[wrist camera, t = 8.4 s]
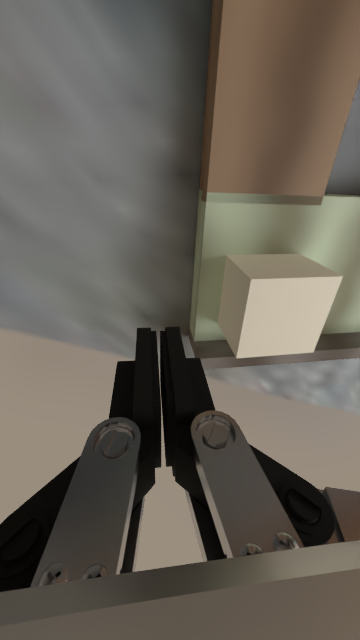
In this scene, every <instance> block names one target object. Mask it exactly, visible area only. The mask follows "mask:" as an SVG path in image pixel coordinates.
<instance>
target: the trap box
mask: <svg viewBox="0 0 360 640" xmlns="http://www.w3.org/2000/svg"><path fill="white" fill-rule="evenodd" d="M359 78H360V0H213V1H212V15H211V29H210V43H209V57H208V72H207V86H206V100H205V114H204V128H203V143H202V157H201V171H200V185H199V200H198V214H197V228H196V242H195V256H194V271H193V285H192V299H191V313H190V328H189V339H190V343H191V346H192V349H193V352H194V355H195V358H200V360H201V363H202V367H203V369H216V368H230V367H243V366H257V365H270V364H283V363H297V362H310V361H324V360H337V359H350V358H360V195H346V194H324V193H325V190H326V187H327V183H328V180H329V177H330V174H331V170H332V167H333V164H334V160H335V157H336V154H337V150H338V147H339V144H340V141H341V137H342V134H343V131H344V127H345V124H346V121H347V118H348V114H349V111H350V108H351V104H352V101H353V98H354V95H355V91H356V88H357V85H358V81H359ZM249 254H302V255H304V256H305V257H307V258H309V259H311V260H313V261H315V262H317V263H319V264H321V265H322V266H324V267H326V268H328V269H330V270H332V271H334V272H336V273H338V274H339V275H341V276H343V278H342V280H341V283H340V286H339V288H338V291H337V293H336V296H335V298H334V301H333V303H332V306H331V309H330V311H329V314H328V316H327V319H326V321H325V324H324V327H323V329H322V332H321V334H320V337H319V339H318V342H317V344H316V347H315V350H314V352H313V353H301V354H288V355H275V356H262V357H249V358H236V357H235V355H234V353H233V351H232V349H231V347H230V345H229V344H228V342H227V340H226V338H225V336H224V334H223V332H222V330H221V328H220V326H219V324H218V317H219V309H220V301H221V293H222V285H223V277H224V269H225V261H226V255H249Z"/></svg>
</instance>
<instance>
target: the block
mask: <svg viewBox="0 0 360 640" xmlns="http://www.w3.org/2000/svg"><path fill="white" fill-rule="evenodd" d="M342 278H343V276H341V275H339V274H338V273H336V272H334V271H332V270H330V269H328V268H326V267H324V266H322V265H321V264H319V263H317V262H315V261H313V260H311V259H309V258H307V257H305V256H304V255H302V254H249V255H226V261H225V269H224V277H223V285H222V293H221V301H220V309H219V317H218V324H219V326H220V328H221V330H222V332H223V334H224V336H225V338H226V340H227V342H228V344H229V345H230V347H231V349H232V351H233V353H234V355H235V357H236V358H249V357H262V356H275V355H288V354H301V353H313V352H314V350H315V347H316V344H317V342H318V339H319V337H320V334H321V332H322V329H323V327H324V324H325V321H326V319H327V316H328V314H329V311H330V309H331V306H332V303H333V301H334V298H335V296H336V293H337V291H338V288H339V286H340V283H341V280H342Z"/></svg>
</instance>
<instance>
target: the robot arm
mask: <svg viewBox="0 0 360 640" xmlns="http://www.w3.org/2000/svg"><path fill="white" fill-rule="evenodd" d="M160 369H161V370H160V371H161V372H160V375H161V377H160V380H161V381H160V382H161V399H162V413H163V428H164V443H165V457H166V466H167V467H168V466H172V471H173V476H175V481H176V482H177V483H178V484H179V485H180V486H182V487H183V488H184V489H185V490H186V497H187V501H188V505H189V509H190V512H191V516H192V520H193V524H194V528H195V531H196V535H197V539H198V543H199V547H200V550H201V554H202V558H203V562H200V563H193V564H186V565H179V566H172V567H165V568H159V569H152V570H145V571H138V572H135V566H136V558H137V551H138V544H139V537H140V530H141V523H142V515H143V508H144V500H145V499H144V497H145V495H146V494H147V492H148V491H149V490H150V489H151V488H152V486H153V485H154V484H155V468H158V467H161V399H160V384H159V367H158V352H157V336H156V331H151V328H137V340H136V358H135V361H119V362H118V363H117V368H116V374H115V382H114V388H113V394H112V401H111V407H110V414H109V419H107V420H105V421H103V422H101V423H100V424H98V425H97V426H96V427H95V428H94V429H93V430H92V431H91V433H90V435H89V437H88V439H87V441H86V444H85V446H84V449H83V452H82V454H81V456H80V457H79V458H78V459H76V460H75V461H74V462H73V463H72V464H70V465H69V466H68V467H67V468H66V469H65V470H63V471H62V472H61V473H60V474H59V475H57V476H56V477H55V478H54V479H53V480H51V481H50V482H49V483H48V484H47V485H45V486H44V487H43V488H42V489H41V490H40V491H38V492H37V493H36V494H35V495H33V496H32V497H31V498H30V499H29V500H27V501H26V502H25V503H24V504H23V505H22V506H20V507H19V508H18V509H17V510H16V511H14V512H13V513H12V514H11V515H10V516H8V517H7V518H6V519H5V520H4V521H3V522H2V523H1V524H0V640H360V492H357V491H350V490H343V489H336V488H330V487H325V489H324V490H320V489H317V488H315V487H314V486H313V485H312V484H310V483H309V482H307V481H306V480H304V479H303V478H301V477H300V476H298V475H297V474H295V473H293V472H292V471H290V470H289V469H287V468H286V467H284V466H283V465H281V464H279V463H278V462H276V461H275V460H273V459H272V458H270V457H268V456H267V455H265V454H264V453H262V452H261V451H259V450H257V449H256V448H254V447H253V446H251V445H250V444H248V442H247V440H246V439H245V436H244V435H243V433H242V431H241V429H240V427H239V426H238V424H237V423H236V421H235V420H234V419H233V418H231V417H230V416H229V415H227V414H225V413H223V412H220V411H215V408H214V404H213V401H212V397H211V394H210V391H209V387H208V384H207V380H206V377H205V373H204V370H203V367H202V363H201V360H200V358H186V357H185V353H184V348H183V343H182V339H181V334H180V329H179V327H166V328H165V331H160Z"/></svg>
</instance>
